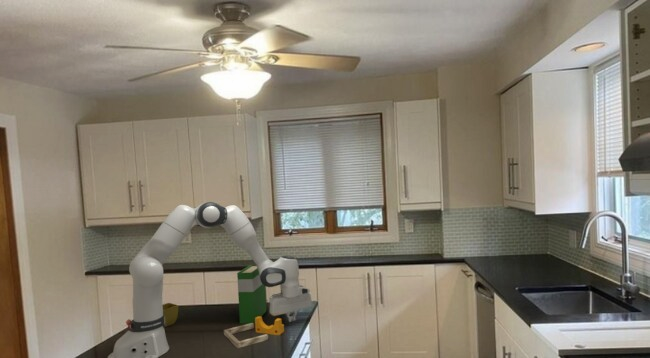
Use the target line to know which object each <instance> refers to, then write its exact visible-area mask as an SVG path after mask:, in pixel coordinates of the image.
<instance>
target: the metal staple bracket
mask: <svg viewBox="0 0 650 358" xmlns="http://www.w3.org/2000/svg"><path fill="white" fill-rule="evenodd" d="M254 328H255V324H253V323H245V324H241V325H238V326H235V327H234V326H233V327H231V328H226V329H223V335H224V337H226V338H227V340H229V341H230V343H231V344H232V345H233V346H234V347H235V348H236V349H240V348H243V347H247V346H251V345H254V344H255V345H256V344H258V343H262V342H265V341H268V340H269V334H265V333H264V334H262V335H258V336H254V337H251V338H246V339H243V340H239V339H238V338H236V337H235V335H233V334H236V333H240V332H244V331H248V330H253V329H254Z"/></svg>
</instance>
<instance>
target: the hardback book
mask: <svg viewBox="0 0 650 358" xmlns="http://www.w3.org/2000/svg"><path fill="white" fill-rule="evenodd" d="M236 274H237V276H236V277H237V291H238V293H237V295H238V309H239V310H238V311H239V312H238V313H239V315H238V316H239V324H250V323H253V324H254V325H255V318H256V317H258V316H260V317H262V316H264V315H265V313H266V312H267V310H268V309H267V293H266V292H267V291H266V286H264V285H263V284H262V283H261V280H260V277H259V274H258V268H257V265H253V264H250V265H248V266H246V267H245V268H243V269H242V270H240V271H238V272H237V273H236Z"/></svg>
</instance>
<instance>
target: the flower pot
mask: <svg viewBox="0 0 650 358" xmlns="http://www.w3.org/2000/svg"><path fill="white" fill-rule="evenodd" d="M163 314H164V317H165V328H167V327H169V326H172V325H174V324H175V323H176V321H177V319H178V317H179V316H178V314H179V305H178V304H175V303H172V302H166V303H164V304H163Z"/></svg>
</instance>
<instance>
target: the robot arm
mask: <svg viewBox="0 0 650 358" xmlns="http://www.w3.org/2000/svg"><path fill="white" fill-rule="evenodd" d="M195 226H196V227H201V228H204V229H206V228H207V229H210V228H215V227H217V226H221V227H222V228H223V229H224V230H225V232H226V234H227V235H228V237H229V238H230V239H231V240H232V242H233V243H234V244H235V245H236V246H237V247H239V248H241V249H243V250H245V252H247V254H248V255H249V256H250V257H251V259H252V260H253V262H254V263H255V264H256V265H255V266H257V268H258V274H259V277H260V280H261V283H262V284H263V285H264V286H265V288H273V287H278V286H280V287H279V289H280V292H279V293H276V294H275V293H274V294H271V296H270V297H269V314H271V315H270V316H272V317H273V316H274V317H276V316H280V315H285V316H286V317H287V321H288V322H289V323H290V322H294V321H296V316H297V314H298V311H301V310H305V309H306V310H307V309H309V308H311V307H312V304H313V303H312V297H311V296H312V295H311V293H310V288H309V287H307V286H304V285H301V284H300V280H299V278H300V271H299V263H298V262H299V261H298V259H297V258H296V257H294V256H292V255H281V256H280V257H279V258H278V259H277V260H275V261H274V260H273V259H270V257H268V255H267V254H266V253H265V251H264V250H263V248H262V246H261V245H260V243H259V241H258V235H257V233H256V230H255V228H254V226H253V224H252V222H251V220H250V219H249V218H248V217H247V216H246V214H245V213H244V212H243V211H242V210H241V209H240V208H239V206H237V205H234V204H232V205H231V204H230V205H228V206H226V207H224V206H222V205H220V204H218V203H216V202H213V201H208V202H207V201H206V202H203V203H200V204H199V205H198V206H196V207H194V208H193V207H191V206H189V205H186V204H180V205H177V206H176V207H174V209H173V210H172V211H170V212H169V214H168V215H167V216H166V218H165V219H164V220H163V222H162V223H161V224H160V226H159V227H158V228H157V230H156V232H155V233H154V234H153V236H152V237H151V238H150V240H149V241H147V242H146V243H145V245H144V246H143V247H142V248H141V249H140V250H139V252H138V253H136V255H135V256H134V258H132V260H131V262H130V264H129V268H128V269H129V270H128V272H129V274H130V276H131V278H132V314H133V315H132V316H133V317H132V318H133V319H127V320H126V322H125V323H126V326H127V328H128V330H127V331H126V332H125V333H124V334H123V335H121V336H120V337H119V338H118V339H117V340H116V341H115V343H114V345H113V350H112V351H113V352H111V353H110V354H109V355H108V356H107V358H159V357H161V356H162V355H164V354H165V353H168V351H169V350H170V346H169V344H168V340H167V337H166V336H167V335H166V332H165V331H166V330H165V328H166V327H165V317H164V314H163V289H164V267H163V266H164V264H165V262H167V260H168V259H170V258H171V256H173V254H175V252H176V251H177V249H178V248H179V247H180V246H181V244H182V243H183V242H184V240H185V238H186V237H187V235H188V234H189V232H190V231H191V229H192V228H194V227H195ZM291 313H292V316H290V315H291Z"/></svg>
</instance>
